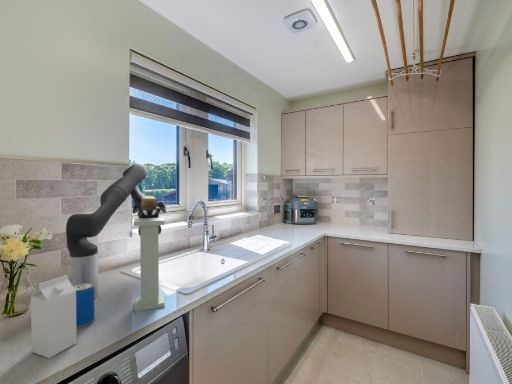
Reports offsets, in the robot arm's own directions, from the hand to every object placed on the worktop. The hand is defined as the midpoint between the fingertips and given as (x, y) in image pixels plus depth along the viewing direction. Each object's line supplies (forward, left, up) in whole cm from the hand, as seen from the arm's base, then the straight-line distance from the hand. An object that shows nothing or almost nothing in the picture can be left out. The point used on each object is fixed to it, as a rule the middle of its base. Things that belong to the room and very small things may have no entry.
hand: (149, 200), depth 102 cm
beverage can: (-20, -13, -39) cm, 46 cm away
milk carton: (-24, -25, -39) cm, 52 cm away
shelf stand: (0, -7, -39) cm, 39 cm away
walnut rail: (0, -3, -3) cm, 4 cm away
